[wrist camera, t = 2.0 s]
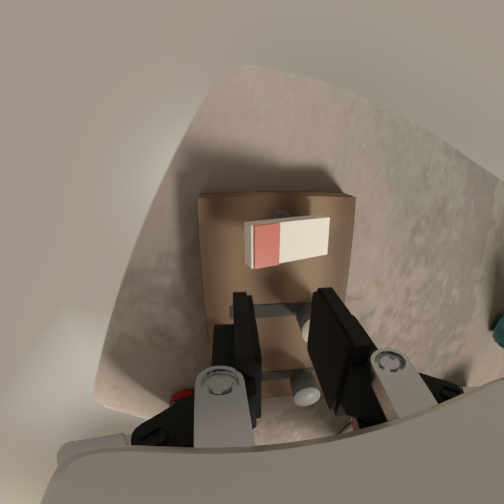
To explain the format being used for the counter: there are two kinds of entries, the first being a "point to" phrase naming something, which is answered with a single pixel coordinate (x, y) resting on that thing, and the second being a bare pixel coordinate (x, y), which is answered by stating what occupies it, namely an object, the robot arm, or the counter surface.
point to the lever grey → (304, 388)
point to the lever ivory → (304, 319)
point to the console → (271, 272)
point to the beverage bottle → (499, 332)
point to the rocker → (285, 240)
